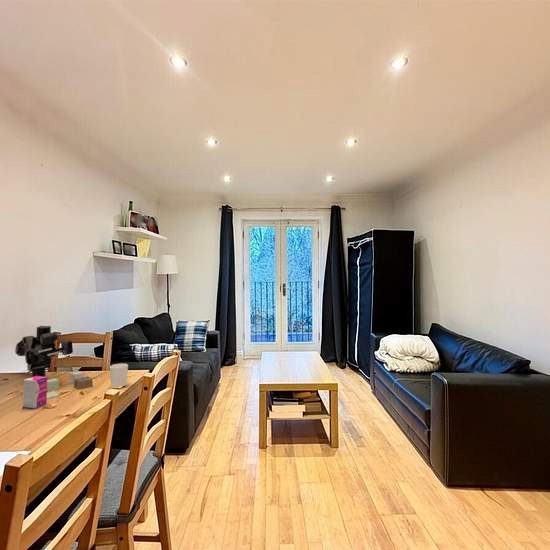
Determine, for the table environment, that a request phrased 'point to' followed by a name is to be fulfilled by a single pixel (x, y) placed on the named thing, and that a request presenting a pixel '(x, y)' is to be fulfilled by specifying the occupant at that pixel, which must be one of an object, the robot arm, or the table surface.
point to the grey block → (76, 376)
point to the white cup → (118, 375)
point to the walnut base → (83, 382)
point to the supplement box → (34, 392)
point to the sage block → (52, 384)
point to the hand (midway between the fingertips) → (55, 356)
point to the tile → (52, 395)
